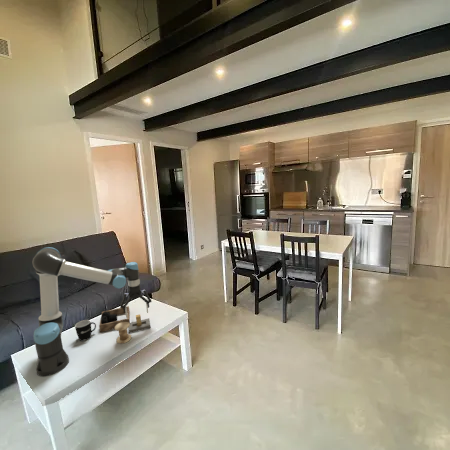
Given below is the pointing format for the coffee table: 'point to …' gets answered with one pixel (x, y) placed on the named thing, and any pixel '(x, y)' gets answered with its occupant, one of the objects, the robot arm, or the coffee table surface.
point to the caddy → (112, 324)
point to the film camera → (108, 317)
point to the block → (138, 320)
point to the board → (134, 327)
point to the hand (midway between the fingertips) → (137, 314)
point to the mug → (84, 329)
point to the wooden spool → (123, 332)
